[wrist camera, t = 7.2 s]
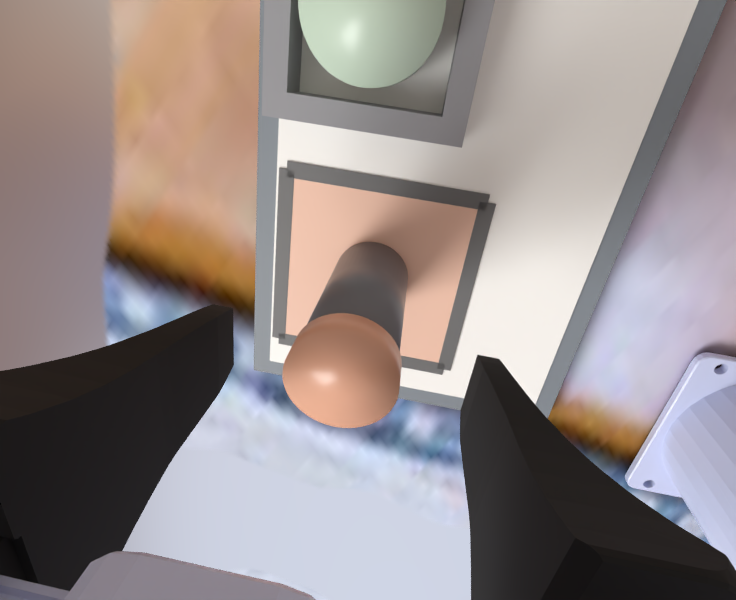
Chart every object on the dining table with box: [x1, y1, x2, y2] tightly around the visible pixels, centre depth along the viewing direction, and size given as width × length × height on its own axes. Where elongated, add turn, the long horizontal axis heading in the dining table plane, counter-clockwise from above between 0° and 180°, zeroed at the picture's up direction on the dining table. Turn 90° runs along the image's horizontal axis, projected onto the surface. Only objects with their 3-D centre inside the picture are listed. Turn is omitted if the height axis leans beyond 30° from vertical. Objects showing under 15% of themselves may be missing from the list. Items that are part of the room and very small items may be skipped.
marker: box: [282, 242, 408, 428], centre depth 15 cm, size 3×3×7 cm
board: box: [254, 0, 727, 418], centre depth 16 cm, size 14×20×2 cm
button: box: [298, 0, 446, 88], centre depth 12 cm, size 4×4×2 cm
